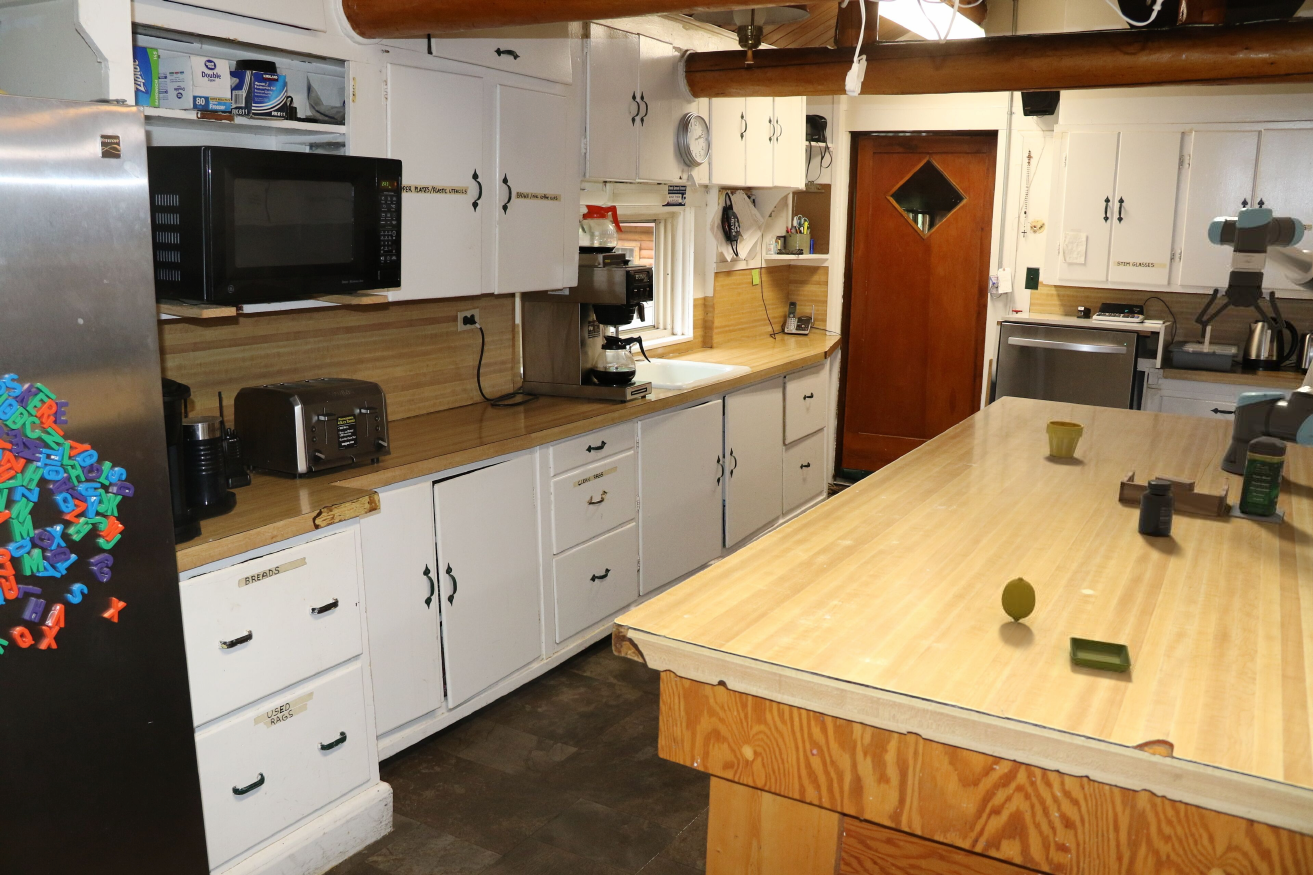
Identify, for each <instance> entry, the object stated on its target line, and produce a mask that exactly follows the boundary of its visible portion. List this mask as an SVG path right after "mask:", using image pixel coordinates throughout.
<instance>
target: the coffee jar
mask: <svg viewBox="0 0 1313 875" xmlns="http://www.w3.org/2000/svg"><path fill="white" fill-rule="evenodd" d="M1248 445H1249V447H1248V452H1247V459H1246V465H1245V472H1244V475H1243V479H1242V485H1241V486H1242V487H1241V492H1240V498H1239V502H1238V503H1239V510H1240V511H1242V512H1246V513H1249V514H1251V515H1256V516H1259V515H1266V516H1271V515H1273V514H1274V513H1275V512H1276V509H1278V502H1279V497H1280V490H1281V486H1282V485H1281V484H1282V479H1283V472H1284V466H1285V460H1286V456H1287V454H1286V453H1287V442H1284V441H1282V440H1281V439H1279V438H1273V437H1265V436H1262V437H1260V438H1257V439H1254V440H1252V441H1251V442H1250V443H1249V444H1248Z"/></svg>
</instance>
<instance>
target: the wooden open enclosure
mask: <svg viewBox="0 0 1313 875" xmlns="http://www.w3.org/2000/svg"><path fill="white" fill-rule="evenodd" d="M1135 475H1136V470H1133V469H1130V470H1129V472H1128V473H1127V474H1126V475H1125V476H1124V477H1123V479H1122V480H1121V481H1120V483H1119V484H1120V485H1119V494H1118V502H1123V503H1130V504H1136V505H1141V496H1142V494H1143V493H1144V492H1146V491H1148V489H1147V486H1148V484H1145V483H1136V482H1135ZM1229 489H1230V483H1228V482H1225V483H1224V484H1223V486H1222V489H1221V491H1220V493H1219V494H1212V493H1206V492H1200V491H1199V492H1193V491H1186V490H1179V489H1173V488H1171V491H1170V494H1172V495H1173V496H1174V499H1175V502H1174V510H1175V511H1181V512H1187V513H1195V514H1200V515H1207V516H1212V517H1218V518H1221V517H1222V515H1223V513H1224V510H1225V507H1226V505H1227V502H1228V497H1229Z"/></svg>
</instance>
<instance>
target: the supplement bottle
mask: <svg viewBox="0 0 1313 875" xmlns="http://www.w3.org/2000/svg"><path fill="white" fill-rule="evenodd" d="M1147 485H1148V486H1147V489H1148V491H1146V492H1144V493H1143V494H1142V496H1141V504H1139V505H1140V506H1139V517H1138V525H1137V529H1138V532H1139V533H1140V534H1143V535H1146V536H1151V537H1160V538H1161V537H1168V536H1170V535H1171V534H1172V529H1173V528H1172V526H1173V519H1174V502H1175V499H1174V496H1173V495H1172V494H1170V491H1171V482H1169V481H1165V480H1155V479H1148V480H1147Z"/></svg>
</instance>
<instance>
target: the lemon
mask: <svg viewBox="0 0 1313 875" xmlns="http://www.w3.org/2000/svg"><path fill="white" fill-rule="evenodd" d="M1001 606H1002V610H1003V611H1004V612H1005V614H1006V615H1007V616H1009V617H1010V618H1012V619H1013V621H1014V622H1019V621H1020V620H1023V619H1026V618H1028V617H1029V616H1030V615H1031V614H1032V613H1033V612H1034V609H1035V606H1036V591H1035V588H1034V586H1033V585H1032V584H1031V583H1030V582H1029V581H1028V580H1025V579H1024V578H1023V576H1022V577H1021V576H1019V577H1017V578H1014V579H1011V580H1010V581H1008V582H1007V583H1006V585H1005V586H1004V588H1003V590H1002V594H1001Z"/></svg>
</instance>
